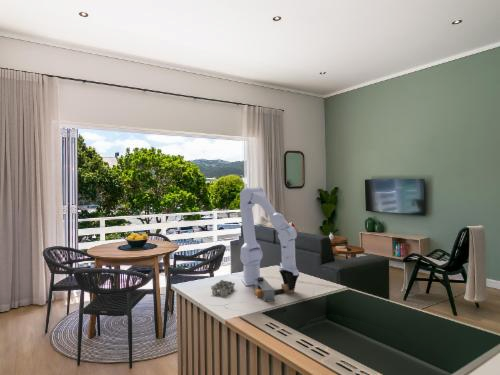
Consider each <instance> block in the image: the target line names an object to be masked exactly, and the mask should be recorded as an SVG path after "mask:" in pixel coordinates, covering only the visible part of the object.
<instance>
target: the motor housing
mask: <svg viewBox="0 0 500 375" xmlns="http://www.w3.org/2000/svg"><path fill="white" fill-rule="evenodd" d="M255 289H261V297H260V298H261V299H262V298H263V299H262V300H263V301H264V302H271V301H272V300H274V301H275V294H274V290H275V289H274V287H272V285H271V284H270V283H269V282H268V281H267V280H266V279H265V278H264V277H262V276H260V277H258V279H255V285H254V290H255ZM272 302H273V301H272Z"/></svg>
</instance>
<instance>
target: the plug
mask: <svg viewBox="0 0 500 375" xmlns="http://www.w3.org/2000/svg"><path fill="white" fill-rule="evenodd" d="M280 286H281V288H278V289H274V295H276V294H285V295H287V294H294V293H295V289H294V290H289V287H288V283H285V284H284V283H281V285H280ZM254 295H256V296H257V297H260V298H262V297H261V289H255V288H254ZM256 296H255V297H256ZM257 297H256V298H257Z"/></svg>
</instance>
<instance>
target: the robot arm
mask: <svg viewBox="0 0 500 375" xmlns="http://www.w3.org/2000/svg"><path fill="white" fill-rule="evenodd" d="M239 199H240V202H239V209H240V218H241V225H242V226H241V227H242V235H243V244H242V245H241V247H240V255H239V258H240V262H241V263H242V264H243V271H242V272H243V278H242V279H241V281H242V282H243V284H244V285H245V286H247V287H248V286H255V279H258V277H261V268H260V267H261V265H260V264H261V260H262V259H263V257H264V254H263V250H262V248H261V245H260V244H259V243H258V242H257V237H256V229H255V221H254V214H253V213H254V212H253V208H254V206H255V205H259V206H260V208H262V210H263V211H264V212H265V213H266V214H267V216H268V217H269V222H270V223H271V225H272V226H273V228H274V230H276V233H278V234H277V238H278V240H279V241H280V243H279V244H280V248H281V249H280V250H281V262H279V274H280V276H281V278H282V281H283V284H285V283H288V287H289V290H294V291H295V289H296V283H297V280H298V278H299V277H300V273H299V272H300V270H299V269H298V267H297V266H296V265H297V264H296V262H297V261H296V239H297V237H298V231H297V229H296V227H294V226H292V225H290V223H288V221H287V220H286V219H285V217H284V215H283V214H281V213H280V212H277V211H276V209H275V208H274V207H273V205H272V203H271V202H270V200H269V199H268V197H267V193H266V192H265V190H264V188H262V187H261V186H256V187H254V186H252V187H244V188H242V190H241V191H240V192H239Z"/></svg>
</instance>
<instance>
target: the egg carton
mask: <svg viewBox="0 0 500 375" xmlns="http://www.w3.org/2000/svg"><path fill="white" fill-rule="evenodd" d="M235 285H236V283H235V282H232V281H227V280H224V279H220V281H219V282H216V283H215V284H214V285H211V286H210V290H212V291H211V293H212V295H214V296H216V295H217V296H218V295H220V296H221V297H222V296H223V297H224V296H227V295H228V293H231V292H232V291H234V290H235Z"/></svg>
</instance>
